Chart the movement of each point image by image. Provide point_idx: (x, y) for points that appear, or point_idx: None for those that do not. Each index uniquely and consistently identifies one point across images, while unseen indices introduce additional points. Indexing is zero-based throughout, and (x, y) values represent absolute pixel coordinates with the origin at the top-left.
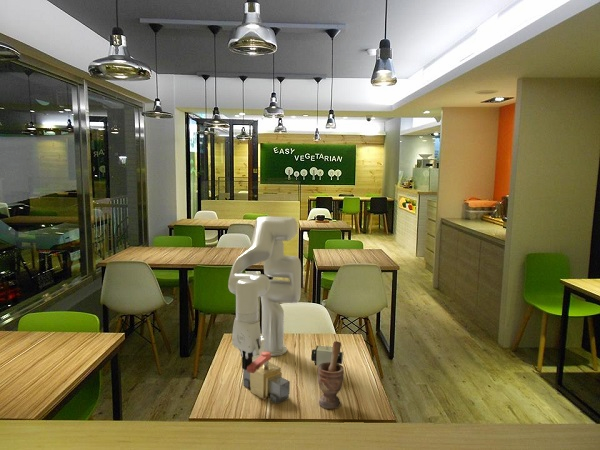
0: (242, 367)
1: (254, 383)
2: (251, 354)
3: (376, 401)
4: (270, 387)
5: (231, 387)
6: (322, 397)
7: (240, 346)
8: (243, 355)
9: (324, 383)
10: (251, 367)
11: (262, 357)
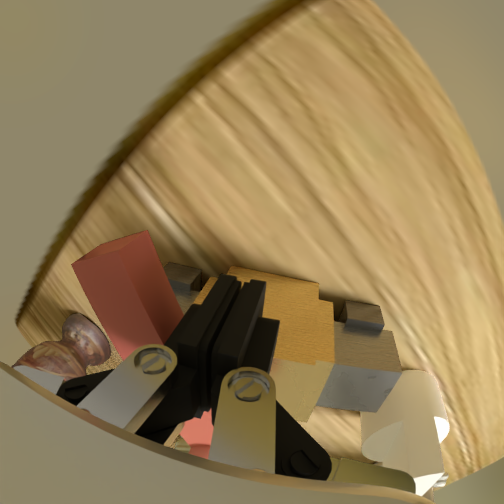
0: (258, 283)
1: (287, 306)
2: (67, 386)
3: None
4: (189, 307)
5: (416, 267)
6: (84, 341)
7: (100, 497)
8: (222, 387)
9: (30, 355)
10: (86, 264)
11: (197, 433)
